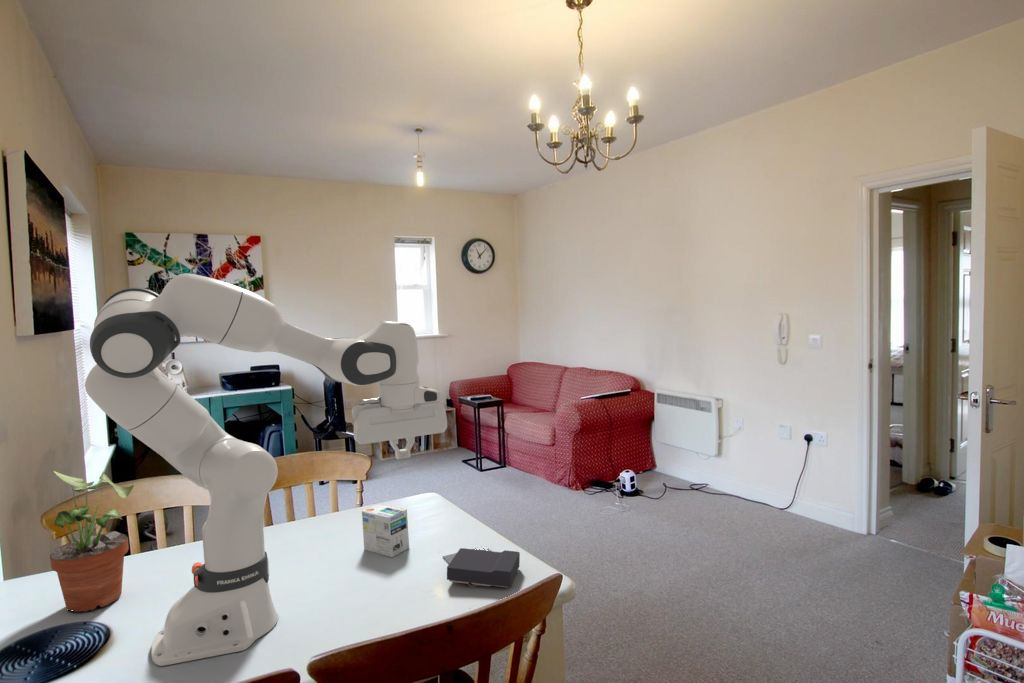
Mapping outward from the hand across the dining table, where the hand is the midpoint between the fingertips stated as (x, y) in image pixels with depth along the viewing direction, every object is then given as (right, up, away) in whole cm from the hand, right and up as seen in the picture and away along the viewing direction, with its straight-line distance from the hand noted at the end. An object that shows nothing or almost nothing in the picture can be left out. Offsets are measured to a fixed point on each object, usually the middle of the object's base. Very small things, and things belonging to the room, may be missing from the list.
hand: (403, 458), depth 125 cm
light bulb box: (-10, -30, +27) cm, 41 cm away
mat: (+16, -30, +15) cm, 37 cm away
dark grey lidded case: (+10, -27, +10) cm, 31 cm away
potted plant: (-70, -34, +5) cm, 78 cm away
